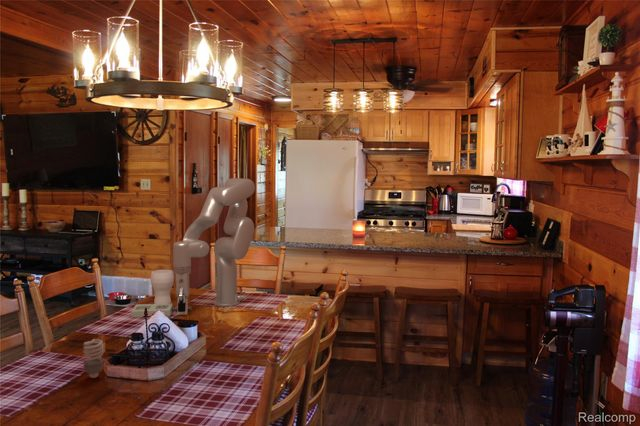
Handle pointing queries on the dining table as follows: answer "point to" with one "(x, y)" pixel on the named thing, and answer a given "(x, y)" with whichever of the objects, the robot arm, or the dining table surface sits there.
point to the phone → (188, 308)
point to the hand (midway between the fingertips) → (182, 308)
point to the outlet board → (151, 309)
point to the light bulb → (94, 363)
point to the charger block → (186, 307)
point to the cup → (162, 285)
